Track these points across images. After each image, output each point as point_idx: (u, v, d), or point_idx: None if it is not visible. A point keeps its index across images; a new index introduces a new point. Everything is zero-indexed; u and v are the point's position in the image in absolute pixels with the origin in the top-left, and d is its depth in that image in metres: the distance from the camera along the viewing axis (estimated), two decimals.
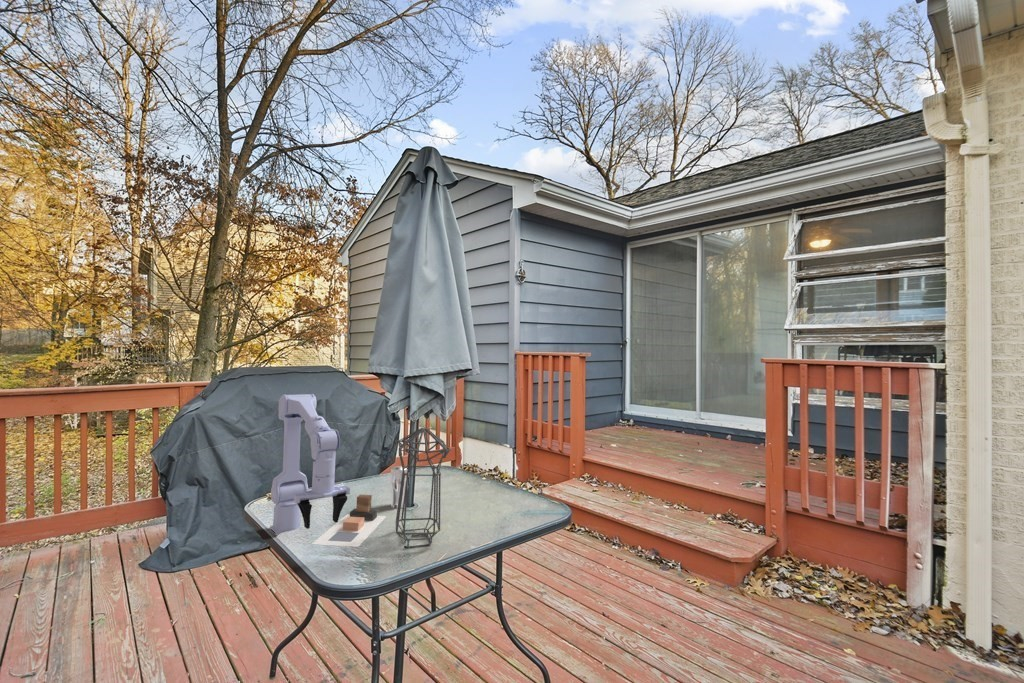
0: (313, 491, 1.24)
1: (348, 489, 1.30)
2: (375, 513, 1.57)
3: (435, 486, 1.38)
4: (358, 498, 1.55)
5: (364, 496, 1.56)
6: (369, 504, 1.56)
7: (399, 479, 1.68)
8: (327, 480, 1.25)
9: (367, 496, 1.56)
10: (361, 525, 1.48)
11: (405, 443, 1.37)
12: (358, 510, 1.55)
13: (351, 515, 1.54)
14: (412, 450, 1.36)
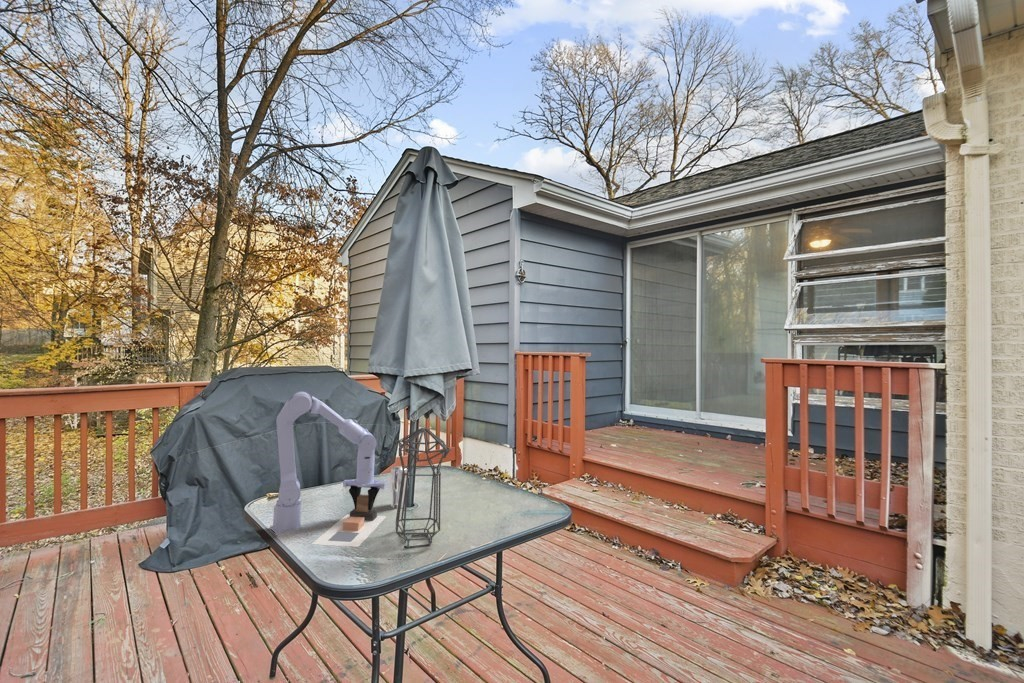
0: None
1: (383, 485, 1.55)
2: (375, 513, 1.57)
3: (435, 486, 1.38)
4: (358, 498, 1.55)
5: (364, 496, 1.56)
6: None
7: (399, 479, 1.68)
8: (362, 473, 1.54)
9: (367, 496, 1.56)
10: (361, 525, 1.48)
11: (405, 443, 1.37)
12: (358, 510, 1.55)
13: (351, 515, 1.54)
14: (412, 450, 1.36)
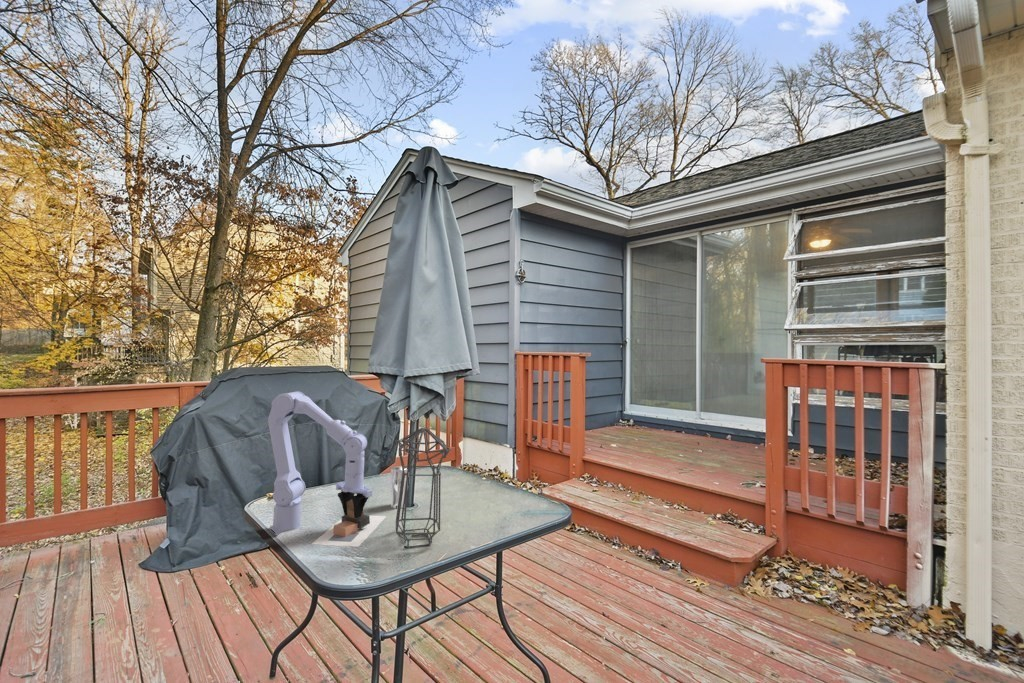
0: None
1: (366, 493, 1.43)
2: (365, 520, 1.46)
3: (435, 486, 1.38)
4: (347, 503, 1.47)
5: None
6: None
7: (399, 479, 1.68)
8: (347, 478, 1.45)
9: None
10: (351, 531, 1.43)
11: (405, 443, 1.37)
12: (348, 515, 1.47)
13: (343, 520, 1.47)
14: (412, 450, 1.36)
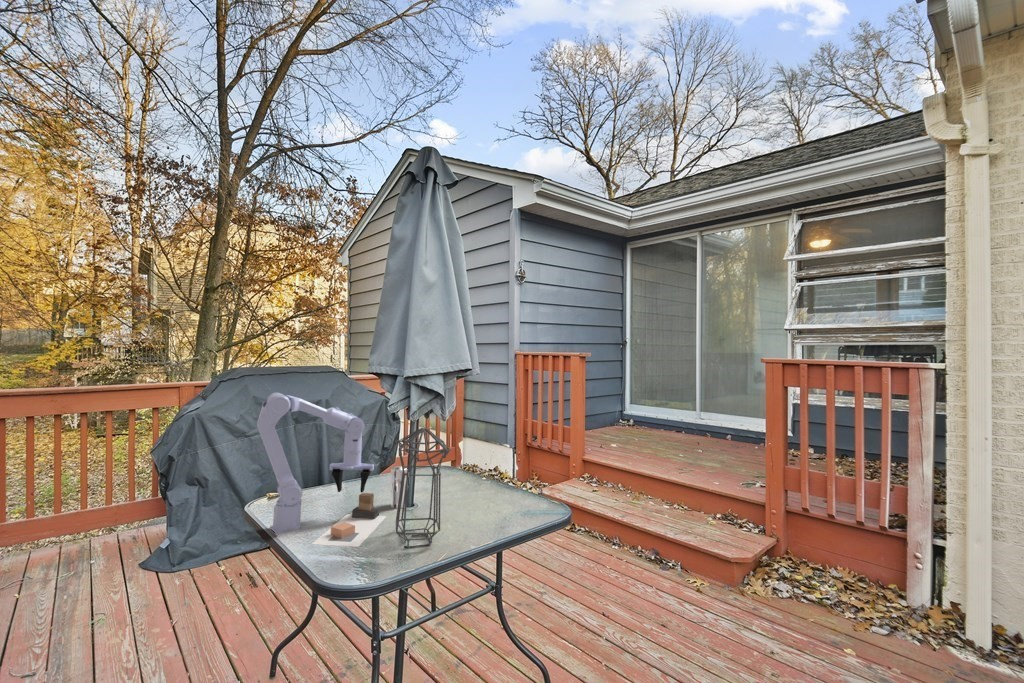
0: None
1: (371, 467, 1.57)
2: (377, 511, 1.58)
3: (435, 486, 1.38)
4: (360, 496, 1.57)
5: (366, 494, 1.58)
6: (371, 502, 1.58)
7: (399, 479, 1.68)
8: (350, 456, 1.55)
9: (369, 494, 1.58)
10: (348, 533, 1.41)
11: (405, 443, 1.37)
12: (360, 508, 1.57)
13: (353, 513, 1.56)
14: (412, 450, 1.36)
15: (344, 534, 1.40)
